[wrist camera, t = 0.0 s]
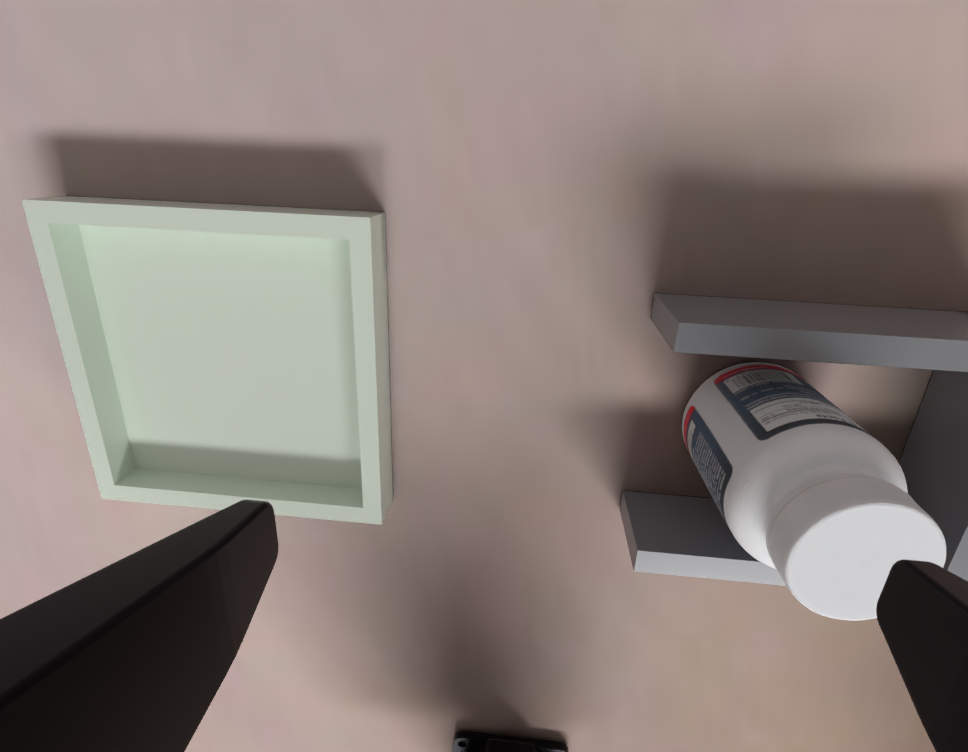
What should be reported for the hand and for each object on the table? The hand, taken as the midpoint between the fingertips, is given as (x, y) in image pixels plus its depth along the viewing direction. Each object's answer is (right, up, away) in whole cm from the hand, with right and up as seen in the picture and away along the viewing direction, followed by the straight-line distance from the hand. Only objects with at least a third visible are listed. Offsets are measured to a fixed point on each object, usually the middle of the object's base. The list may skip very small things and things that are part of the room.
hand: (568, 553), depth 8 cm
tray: (-12, +3, +16) cm, 20 cm away
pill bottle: (+10, +1, +15) cm, 18 cm away
